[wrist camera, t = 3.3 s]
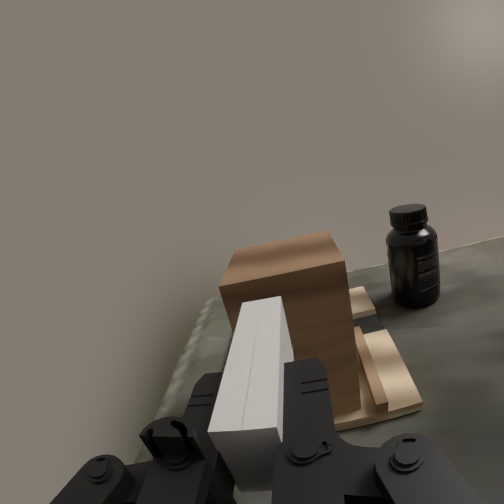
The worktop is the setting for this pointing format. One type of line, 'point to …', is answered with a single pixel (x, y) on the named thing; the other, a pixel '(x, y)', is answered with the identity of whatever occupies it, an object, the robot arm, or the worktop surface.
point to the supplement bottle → (413, 257)
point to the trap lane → (377, 370)
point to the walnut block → (303, 304)
